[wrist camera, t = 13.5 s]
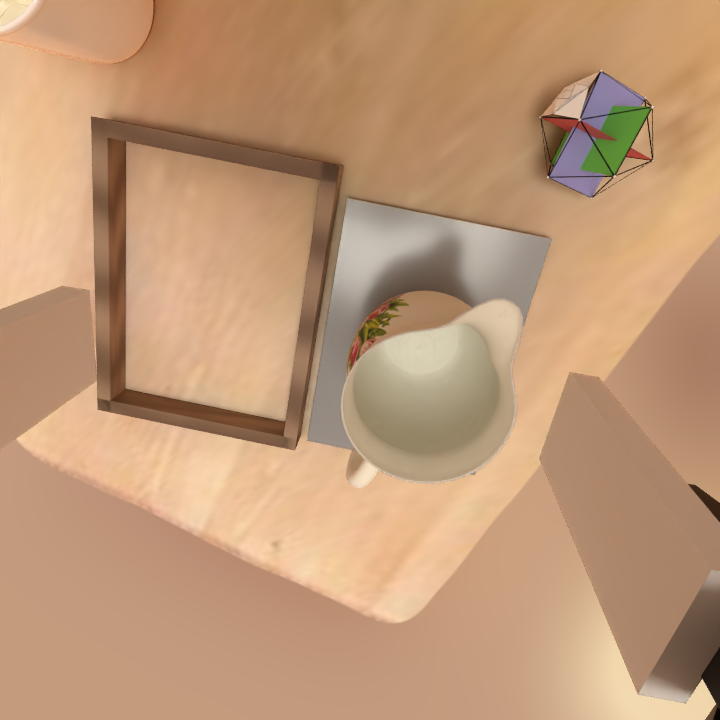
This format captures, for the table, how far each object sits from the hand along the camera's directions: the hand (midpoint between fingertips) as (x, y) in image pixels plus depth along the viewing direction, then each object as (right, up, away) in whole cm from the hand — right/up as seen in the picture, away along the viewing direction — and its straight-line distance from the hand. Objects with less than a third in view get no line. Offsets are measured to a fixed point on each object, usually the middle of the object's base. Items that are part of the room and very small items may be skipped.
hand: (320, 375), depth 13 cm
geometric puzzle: (+17, +17, +22) cm, 33 cm away
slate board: (+6, +2, +29) cm, 29 cm away
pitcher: (+6, +2, +28) cm, 29 cm away
